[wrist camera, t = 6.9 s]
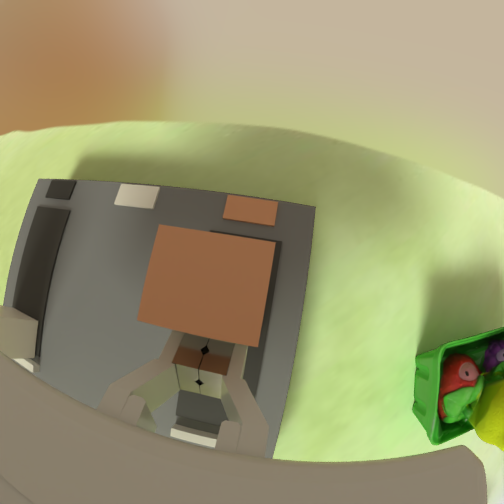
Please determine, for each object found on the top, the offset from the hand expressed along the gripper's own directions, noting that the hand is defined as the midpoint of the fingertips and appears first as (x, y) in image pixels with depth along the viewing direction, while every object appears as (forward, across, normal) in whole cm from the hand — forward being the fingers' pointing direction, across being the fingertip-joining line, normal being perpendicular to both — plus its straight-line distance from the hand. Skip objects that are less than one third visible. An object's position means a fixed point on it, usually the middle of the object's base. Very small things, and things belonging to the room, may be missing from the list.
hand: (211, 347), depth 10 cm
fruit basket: (+5, -20, +8) cm, 22 cm away
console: (+6, +8, +6) cm, 12 cm away
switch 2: (+5, 0, +2) cm, 5 cm away
